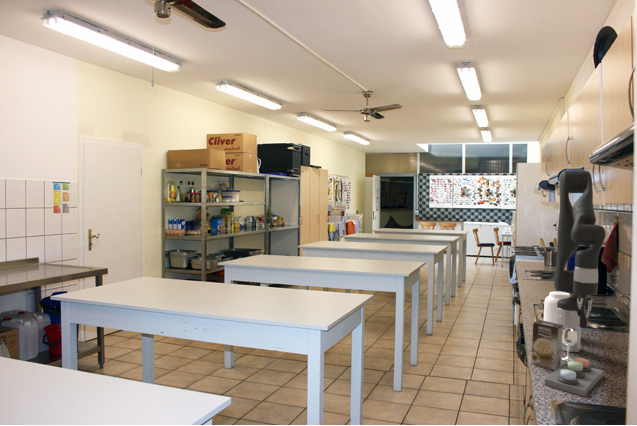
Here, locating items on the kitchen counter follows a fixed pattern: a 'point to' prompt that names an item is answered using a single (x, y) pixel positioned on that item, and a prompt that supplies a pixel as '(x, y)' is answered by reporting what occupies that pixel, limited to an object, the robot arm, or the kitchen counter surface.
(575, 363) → the sage button
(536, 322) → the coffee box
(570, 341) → the wineglass
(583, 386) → the panel
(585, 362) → the brick button
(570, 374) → the white button
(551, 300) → the white bottle
